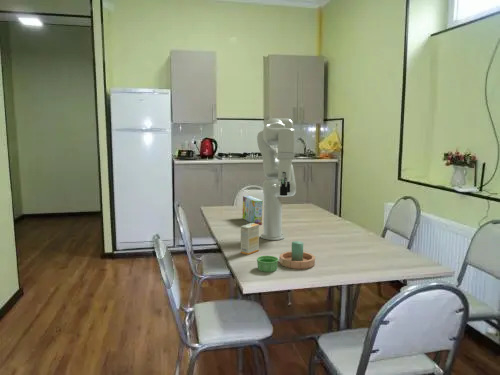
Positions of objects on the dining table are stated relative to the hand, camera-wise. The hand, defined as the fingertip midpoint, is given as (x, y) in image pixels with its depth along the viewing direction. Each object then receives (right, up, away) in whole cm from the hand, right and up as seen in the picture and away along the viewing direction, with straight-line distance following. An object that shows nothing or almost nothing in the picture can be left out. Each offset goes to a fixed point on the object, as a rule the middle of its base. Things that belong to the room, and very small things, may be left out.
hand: (285, 193), depth 184 cm
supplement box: (-16, -28, +6) cm, 33 cm away
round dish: (+5, -30, -9) cm, 31 cm away
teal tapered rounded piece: (+5, -29, -9) cm, 30 cm away
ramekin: (-9, -31, -16) cm, 36 cm away
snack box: (-15, -19, +71) cm, 75 cm away
